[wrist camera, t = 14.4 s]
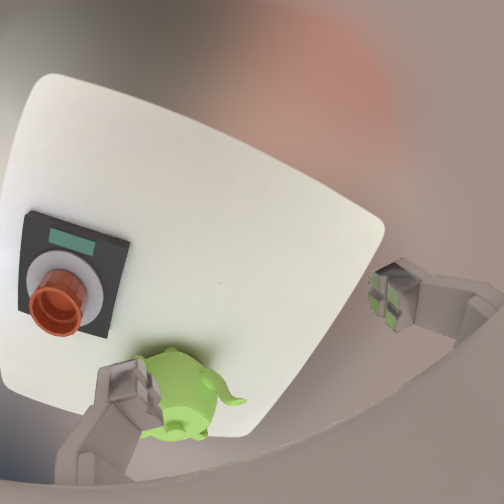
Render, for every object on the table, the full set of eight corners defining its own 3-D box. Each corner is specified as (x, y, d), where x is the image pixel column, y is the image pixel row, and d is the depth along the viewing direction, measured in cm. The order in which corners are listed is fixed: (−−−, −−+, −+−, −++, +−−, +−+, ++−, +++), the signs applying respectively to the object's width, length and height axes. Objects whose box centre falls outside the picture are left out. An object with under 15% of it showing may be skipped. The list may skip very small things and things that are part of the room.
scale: (31, 210, 28) (22, 216, 26) (130, 242, 34) (127, 251, 31) (23, 301, 32) (16, 312, 29) (108, 329, 37) (106, 341, 35)
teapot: (135, 320, 38) (133, 388, 27) (226, 340, 44) (249, 403, 33) (119, 390, 43) (118, 451, 31) (195, 403, 48) (208, 460, 37)
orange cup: (32, 277, 29) (19, 297, 25) (72, 260, 30) (62, 279, 26) (57, 319, 32) (48, 341, 28) (96, 306, 33) (91, 329, 29)
